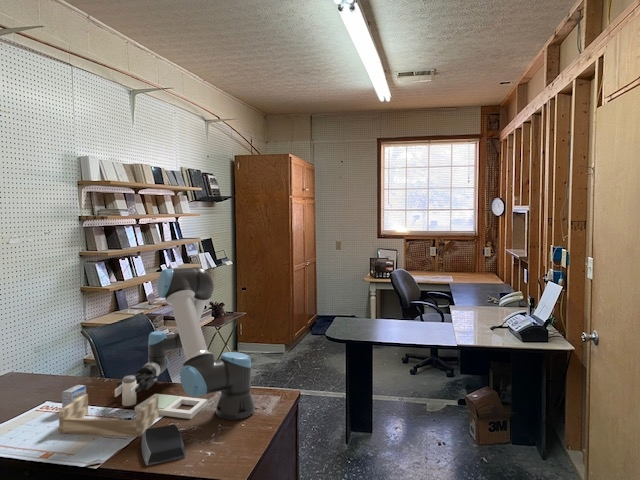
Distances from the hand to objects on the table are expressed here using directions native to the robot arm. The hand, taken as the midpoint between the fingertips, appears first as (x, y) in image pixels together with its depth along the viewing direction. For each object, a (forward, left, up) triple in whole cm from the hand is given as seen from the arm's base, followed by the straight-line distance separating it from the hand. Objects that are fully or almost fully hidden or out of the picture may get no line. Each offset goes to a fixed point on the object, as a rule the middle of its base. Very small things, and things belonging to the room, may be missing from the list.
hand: (123, 393), depth 171 cm
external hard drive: (-29, +19, -9) cm, 35 cm away
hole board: (-15, -10, -8) cm, 20 cm away
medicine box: (+21, +1, -8) cm, 22 cm away
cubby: (-2, +9, -8) cm, 12 cm away
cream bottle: (+1, -5, -6) cm, 8 cm away
